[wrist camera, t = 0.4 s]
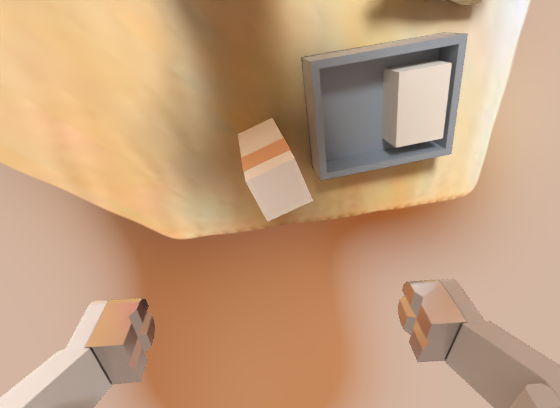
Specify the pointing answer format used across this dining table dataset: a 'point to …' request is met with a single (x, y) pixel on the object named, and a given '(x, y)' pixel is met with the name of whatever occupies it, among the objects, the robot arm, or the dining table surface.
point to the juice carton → (271, 170)
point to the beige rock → (465, 2)
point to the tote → (371, 104)
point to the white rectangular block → (415, 102)
